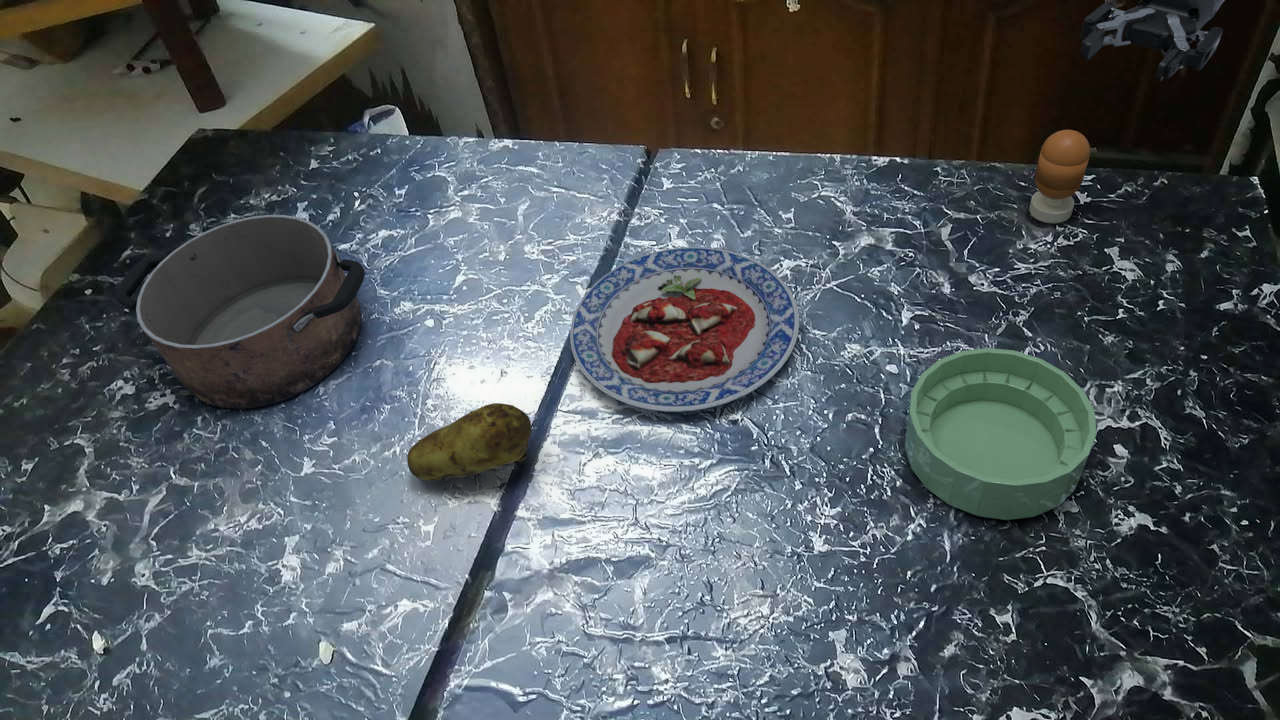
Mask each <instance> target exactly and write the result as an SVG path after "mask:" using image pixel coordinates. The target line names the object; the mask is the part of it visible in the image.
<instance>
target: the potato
mask: <svg viewBox="0 0 1280 720" xmlns="http://www.w3.org/2000/svg"><path fill="white" fill-rule="evenodd" d="M530 419H531V418H530V417H529V415H528V414H526V412H524V411H523V410H522V409H520V408H518V407H516V406H515V405H513V404H508V403H500V402H495V403H490V404H486V405H483V406H481V407H479V408H476V409H474V410H470V412H468V413H467V414H465V415H463V416H461V417H459V418H457V420H455V421H453V422H452V423H450V424H448V425H445V426H443V427H441V428H438V429H436V430H433V432H430V433H428V434H427V435H425V436H424V437H421V439H418V441H416V442H415V443H414V444H413V445H412V446H411V447H410V449H409V450H408V452H407V455H406V456H407V457H406V461H407V467H408V470H409V472H410V473H411V474H412V476H414V477H415V478H416V479H420V480H423V481H427V482H434V481H440V480H442V479H447V480H448V479H451V478H461V477H469V476H474V475H478V474H481V473H484V472H486V471H490V470H493V469H496V468H498V467H501V466H505V465H508V464H511V463H514V462H515V463H521V462H523V461H525V460H526V459H527V458H528V457H527V453H526V452H527V450H528V448H529V441H530V438H531V435H532V422H531V420H530Z"/></svg>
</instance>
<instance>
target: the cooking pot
mask: <svg viewBox="0 0 1280 720" xmlns="http://www.w3.org/2000/svg"><path fill="white" fill-rule="evenodd" d="M151 270H152V271H151ZM345 272H347V273H345ZM365 276H366V271H365V269H364V267H363V265H362V264H361V263H360V262H358V261H357V260H352V259H346V258H343V259H342V258H341V256H340V255H339V254H338V252H335V250H334V247H333V245H332V244H331V242H330V239H329V237H328V235H327V234H326V233H325V232H324V230H323V229H322V228H321V227H319V225H317V224H315V223H313V222H311V221H310V220H307V219H304V218H301V217H298V216H292V215H286V214H265V215H256V216H249V217H244V218H240V219H236V220H233V221H230V222H226V223H223V224H220V225H218V226H215V227H213V228H211V229H208V230H206V231H204V232H202V233H200V234H198V235H197V236H194V237H193V238H191V239H189V240H187V241H186V242H185V243H183V244H181V245H180V246H178V247H177V248H176V249H175V250H173V251H172V252H171V253H169V254H163V255H162V254H161V255H151V256H148V257H145V258H143V259H141V260H140V261H138V262H137V263H136V264H135V265H134V266H133V267H132V268H131V269H130V270H129V271H128V273H126V275H125V276H124V278H123V279H122V280H121V282H119V284H118V286H117V288H116V290H115V293H114V296H115V300H116V301H117V302H118V303H119V304H120V305H122V306H123V307H125V308H127V309H129V310H130V311H133V312H136V319H137V322H138V324H139V325H140V327H141V329H142V330H143V332H144V333H145V335H146V337H148V339H149V341H151V343H152V344H153V346H154V347H155V348H156V350H157V351H158V353H159V354H160V355H161V357H162V358H163V360H164V361H165V362H166V364H167V365H168V366H169V368H170V369H171V371H172V372H173V373H174V374H175V376H176V377H177V379H178V381H180V383H181V384H182V385H183V387H184V388H185V389H186V390H187V391H188V392H189V393H190V394H191V395H192V396H194V398H196V399H197V400H198V401H199V400H200V401H201V402H203V403H205V404H207V405H211V406H215V407H219V408H223V409H225V408H226V409H238V410H239V409H241V410H242V409H243V410H244V409H254V408H261V407H266V406H269V405H273V404H277V403H280V402H282V401H285V400H288V399H290V398H293V397H295V396H297V395H299V394H301V393H303V392H306V391H307V390H309V389H310V388H312V387H314V386H315V385H317V384H318V383H320V382H321V381H322V380H324V379H325V378H326V377H327V376H328V375H330V373H332V372H333V371H334V370H336V369H337V367H338V366H339V365H340V364H341V363H342V362H343V361H344V360H345V358H346V357H347V356H348V354H349V352H350V351H351V349H352V348H353V346H354V345H355V343H356V340H357V338H358V335H359V333H360V330H361V323H362V312H361V306H360V302H359V301H358V298H357V294H358V292H359V291H360V289H361V287H362V284H363V282H364V279H365ZM146 277H147V278H146ZM145 279H146V280H145ZM144 280H145V281H144ZM143 281H144V283H143V284H142V282H143ZM141 284H142V286H141V288H140V291H139V294H138V296H137V299H134V298H131V297H132V296H133V295H134V294H135V292H136V291H137V289H138V288H139V287H140V285H141Z"/></svg>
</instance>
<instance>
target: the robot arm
mask: <svg viewBox="0 0 1280 720" xmlns="http://www.w3.org/2000/svg"><path fill="white" fill-rule="evenodd" d="M1225 1H1226V0H1140V1H1139V2H1138V3H1137V5H1136V6H1135V7H1131V8H1129V9H1127V10H1126V11H1125V10H1121V9H1118V8H1116V5H1117V2H1116V1H1114V0H1107V1H1105V2H1104V3H1103V4H1101V5H1100V6H1099V7H1098V8H1096V9H1095V10H1094V11H1093V12H1091V13H1090V14H1089V15H1087V16H1086V17H1085V18H1084V21H1083V24H1082V28H1081V32H1080V37H1079V39H1080V40H1082V43H1081V48H1080V52H1079V54H1081V59H1083V60H1085V61H1090V59H1091V58H1093V56H1095V54H1096V53H1097V52H1098V51H1100V49H1102V47H1105V46H1109V45H1112V46H1113V47H1115V48H1118V47H1122V46H1123V47H1124V46H1127V45H1135V46H1140V47H1145V48H1147V49H1149V50H1154V51H1160V52H1161V54H1162V56H1163V58H1162V60H1161V61H1160V62H1159V64H1158V66H1157V69H1156V72H1155V75H1154V80H1155V81H1159V82H1162V81H1163V80H1164V78H1166V79H1169V78H1172V77H1173V76H1174V74H1176V72H1177V71H1178V70H1179V69H1183V68H1184V67H1189V69H1190V70H1191V71H1196V72H1197V71H1201V70H1202V69H1203V68H1204V67H1205V65H1206V64H1207V62H1208V61H1209V60H1210V58H1211V57H1212V56H1213V54H1214V53H1215V52H1216V51H1217V48H1218V45H1219V43H1220V40H1221V38H1222V34H1223V32H1224V29H1223V28H1222V27H1219V26H1214V27H1211V28H1210V30H1209V31H1208V30H1201V29H1202V28H1203V27H1204V26H1205V25H1206V24H1207V22H1209V21H1210V20H1212V19H1213V17H1215V14H1217V12H1218V11H1219V9H1220V7H1221V6H1222V4H1223V3H1224V2H1225ZM1108 31H1110V33H1109V34H1108V35H1106V34H1107V32H1108ZM1123 33H1124V35H1123ZM1193 42H1196V45H1195V46H1197V47H1196V49H1194V48H1190V44H1191V43H1193Z"/></svg>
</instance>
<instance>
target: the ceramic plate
mask: <svg viewBox="0 0 1280 720" xmlns="http://www.w3.org/2000/svg"><path fill="white" fill-rule="evenodd" d="M799 313H800V312H799V309H798V304H797V301H796V299H795V297H794V295H793V293H792V291H791V289H790V288H789V286H788V285H787V284H786V283H785V281H784V280H783V279H782V278H781V276H779V275H778V274H777V273H776V272H775V271H774V270H772V269H770V268H769V267H768V266H766V265H764V264H763V263H761V262H759V261H758V260H756V259H755V258H752V257H749V256H748V255H744V254H741V253H738V252H734V251H730V250H727V249H722V248H716V247H715V248H714V247H708V246H707V247H705V246H686V247H685V246H684V247H673V248H667V249H662V250H661V249H660V250H657V251H656V250H655V251H652V252H649V253H645V254H644V255H641V256H638V257H635V258H633V259H630V260H627V261H625V262H624V263H622V264H620V265H618V266H617V267H615V268H614V269H612V270H610V271H609V272H607V273H606V274H605V275H603V276H602V277H601V278H600V279H598V280H597V281H596V282H595V283H594V284H593V285H592V286H591V287H590V288H589V289H588V290H587V292H586V293H585V294H584V296H583V297H582V298H581V300H580V302H579V303H578V305H577V307H576V309H575V312H574V313H573V317H572V319H571V324H570V331H569V333H570V334H569V337H570V348H571V351H572V355H573V358H574V361H575V362H576V364H577V366H578V368H579V370H580V371H581V372H582V374H583V376H585V378H587V380H588V381H589V382H590V383H591V384H592V385H594V387H596V388H597V389H599V390H600V391H601V392H603V394H606V395H607V396H609V397H611V398H613V399H615V400H617V401H620V402H622V403H623V404H627V405H630V406H633V407H637V408H640V409H646V410H651V411H658V412H676V413H677V412H678V413H679V412H694V411H699V410H706V409H710V408H714V407H719V406H722V405H725V404H728V403H731V402H733V401H736V400H738V399H740V398H742V397H744V396H746V395H748V394H751V393H752V392H753V391H755V390H757V389H758V388H760V387H761V386H763V385H765V383H767V382H768V381H769V380H770V379H771V378H773V377H774V376H775V375H776V374H777V372H779V371H780V370H781V369H782V368H783V367H784V364H785V363H786V362H787V361H788V359H789V357H790V356H791V354H792V353H793V349H794V348H795V346H796V342H797V338H798V335H799V330H800V314H799Z"/></svg>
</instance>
